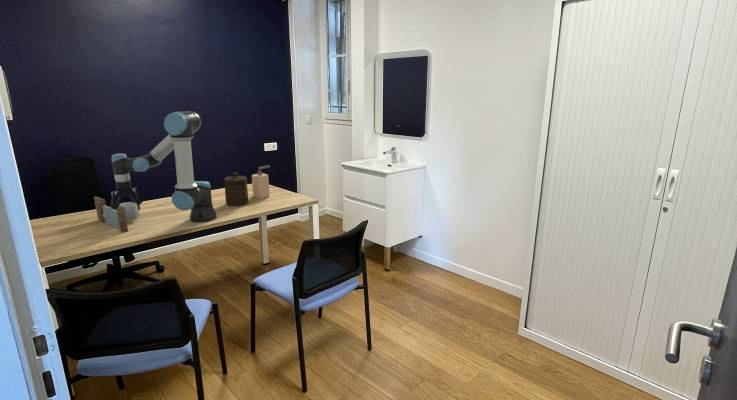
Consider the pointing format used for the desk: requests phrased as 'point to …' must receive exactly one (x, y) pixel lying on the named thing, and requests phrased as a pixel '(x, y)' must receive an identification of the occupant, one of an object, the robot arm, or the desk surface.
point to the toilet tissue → (130, 210)
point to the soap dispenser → (260, 183)
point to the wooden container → (236, 190)
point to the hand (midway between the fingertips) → (128, 217)
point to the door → (111, 216)
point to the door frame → (120, 212)
